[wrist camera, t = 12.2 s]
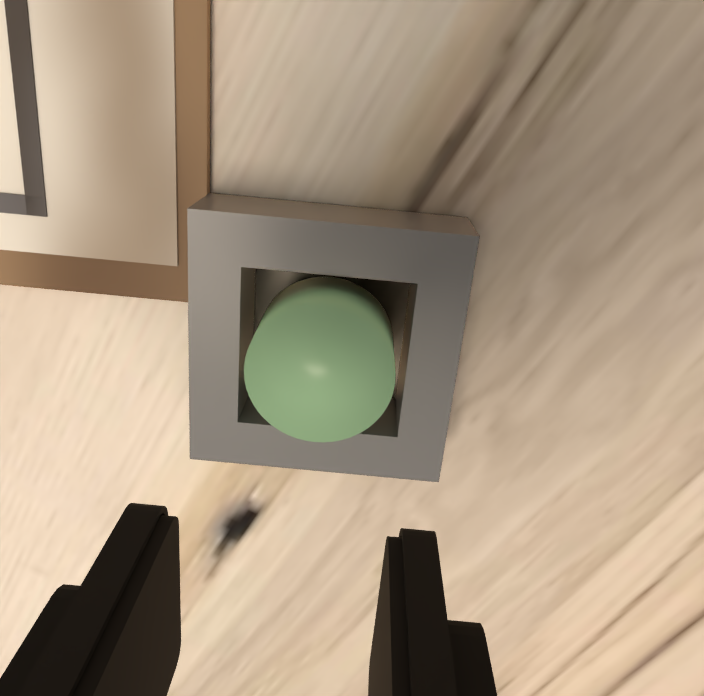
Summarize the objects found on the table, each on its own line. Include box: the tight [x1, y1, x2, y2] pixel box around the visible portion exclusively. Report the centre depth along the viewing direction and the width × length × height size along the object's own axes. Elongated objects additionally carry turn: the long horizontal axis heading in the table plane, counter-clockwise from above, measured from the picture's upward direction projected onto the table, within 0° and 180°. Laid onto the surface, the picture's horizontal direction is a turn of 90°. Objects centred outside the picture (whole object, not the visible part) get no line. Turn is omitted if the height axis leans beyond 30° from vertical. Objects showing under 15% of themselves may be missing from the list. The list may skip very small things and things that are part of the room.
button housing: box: [187, 193, 480, 482], centre depth 20 cm, size 8×8×3 cm
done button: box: [244, 277, 396, 442], centre depth 19 cm, size 4×4×3 cm
